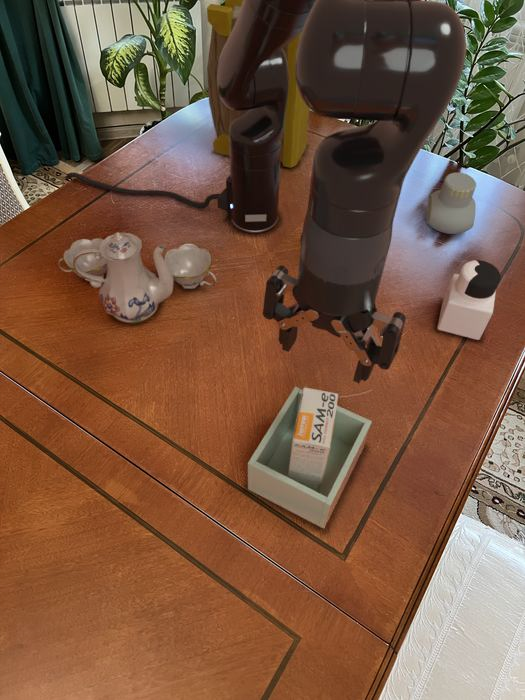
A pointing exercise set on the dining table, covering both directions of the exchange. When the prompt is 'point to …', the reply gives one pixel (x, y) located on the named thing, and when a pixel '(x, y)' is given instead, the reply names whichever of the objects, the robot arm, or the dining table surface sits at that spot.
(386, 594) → the dining table surface
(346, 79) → the robot arm
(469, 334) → the bust figurine
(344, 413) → the holder
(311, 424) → the supplement box
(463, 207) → the air freshener
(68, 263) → the chinaware
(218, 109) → the decorative book
